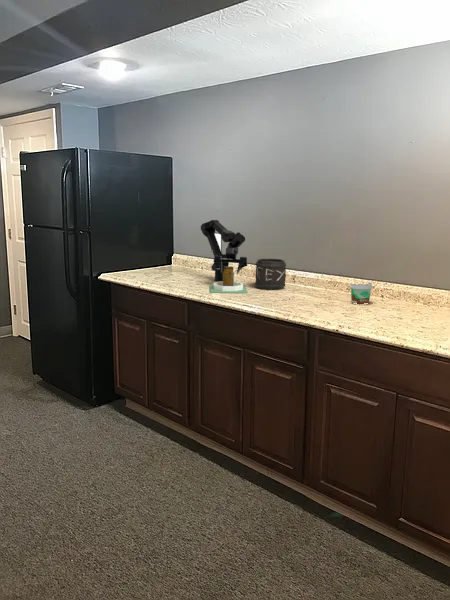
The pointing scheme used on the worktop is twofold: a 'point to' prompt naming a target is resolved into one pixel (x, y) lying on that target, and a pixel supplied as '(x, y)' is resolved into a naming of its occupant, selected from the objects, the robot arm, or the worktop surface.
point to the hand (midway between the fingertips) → (229, 272)
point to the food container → (360, 293)
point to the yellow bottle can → (228, 276)
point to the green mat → (227, 291)
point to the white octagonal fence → (228, 287)
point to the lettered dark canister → (270, 274)
